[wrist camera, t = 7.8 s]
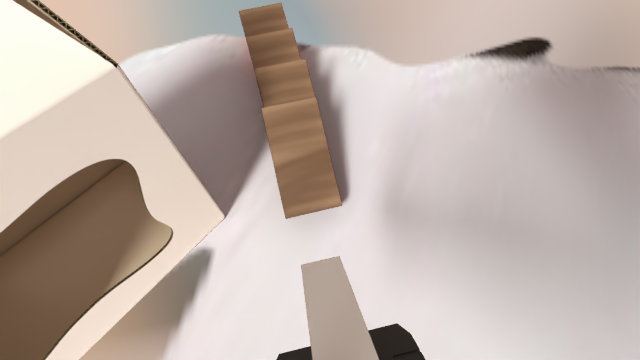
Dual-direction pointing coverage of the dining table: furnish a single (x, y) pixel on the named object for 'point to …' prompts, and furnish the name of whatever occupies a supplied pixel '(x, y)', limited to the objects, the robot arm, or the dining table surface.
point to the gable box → (81, 190)
